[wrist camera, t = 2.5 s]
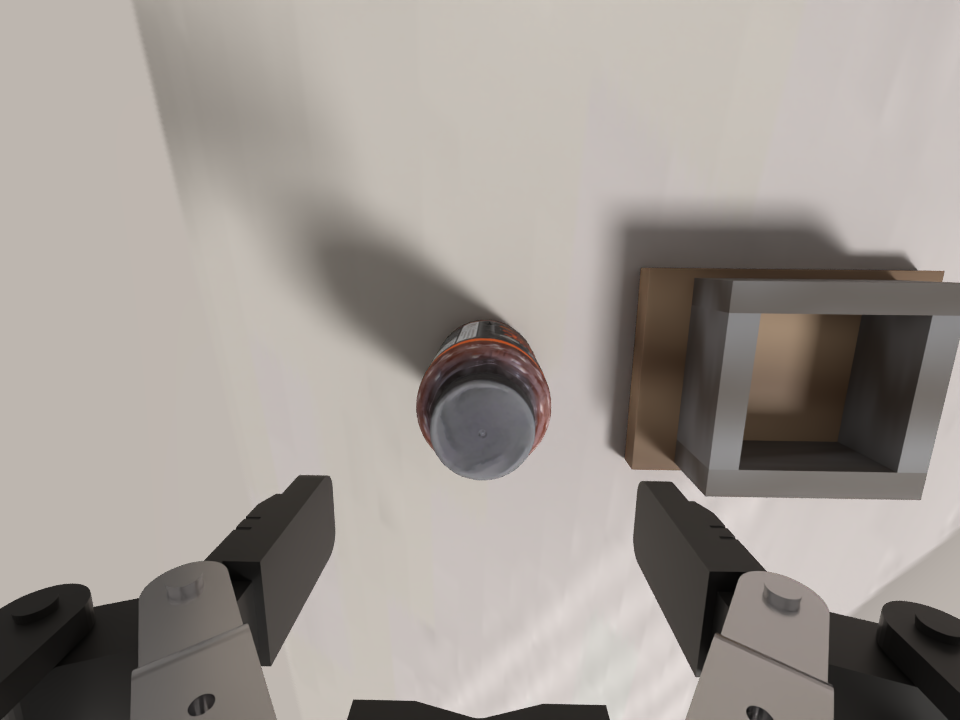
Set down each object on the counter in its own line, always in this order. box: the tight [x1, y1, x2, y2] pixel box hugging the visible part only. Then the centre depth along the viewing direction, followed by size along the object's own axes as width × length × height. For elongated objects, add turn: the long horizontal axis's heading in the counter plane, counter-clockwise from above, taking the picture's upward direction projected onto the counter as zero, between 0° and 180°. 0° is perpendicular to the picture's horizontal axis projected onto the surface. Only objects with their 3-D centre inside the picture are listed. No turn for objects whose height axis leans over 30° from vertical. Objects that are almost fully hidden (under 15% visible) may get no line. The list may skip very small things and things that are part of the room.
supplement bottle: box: [416, 320, 551, 480], centre depth 22 cm, size 6×6×11 cm
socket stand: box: [625, 268, 960, 500], centre depth 25 cm, size 12×16×6 cm
